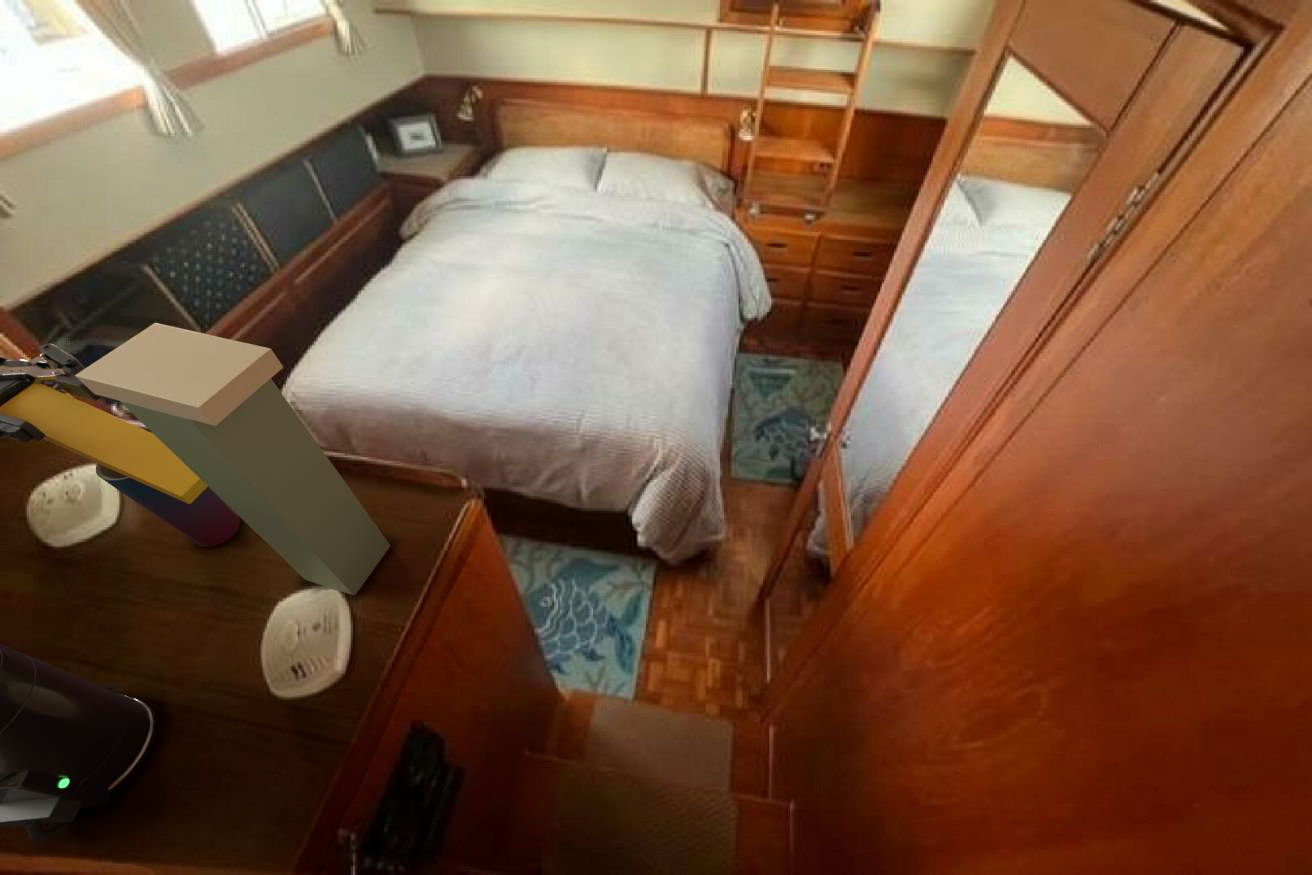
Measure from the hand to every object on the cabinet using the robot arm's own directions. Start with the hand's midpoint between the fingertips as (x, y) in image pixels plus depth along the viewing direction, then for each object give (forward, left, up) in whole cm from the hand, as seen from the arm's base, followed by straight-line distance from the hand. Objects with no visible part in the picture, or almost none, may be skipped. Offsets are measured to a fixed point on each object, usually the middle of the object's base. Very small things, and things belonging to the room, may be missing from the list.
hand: (64, 411), depth 54 cm
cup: (-1, -3, -21) cm, 22 cm away
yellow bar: (-1, -2, -5) cm, 5 cm away
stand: (-7, -21, -21) cm, 31 cm away
